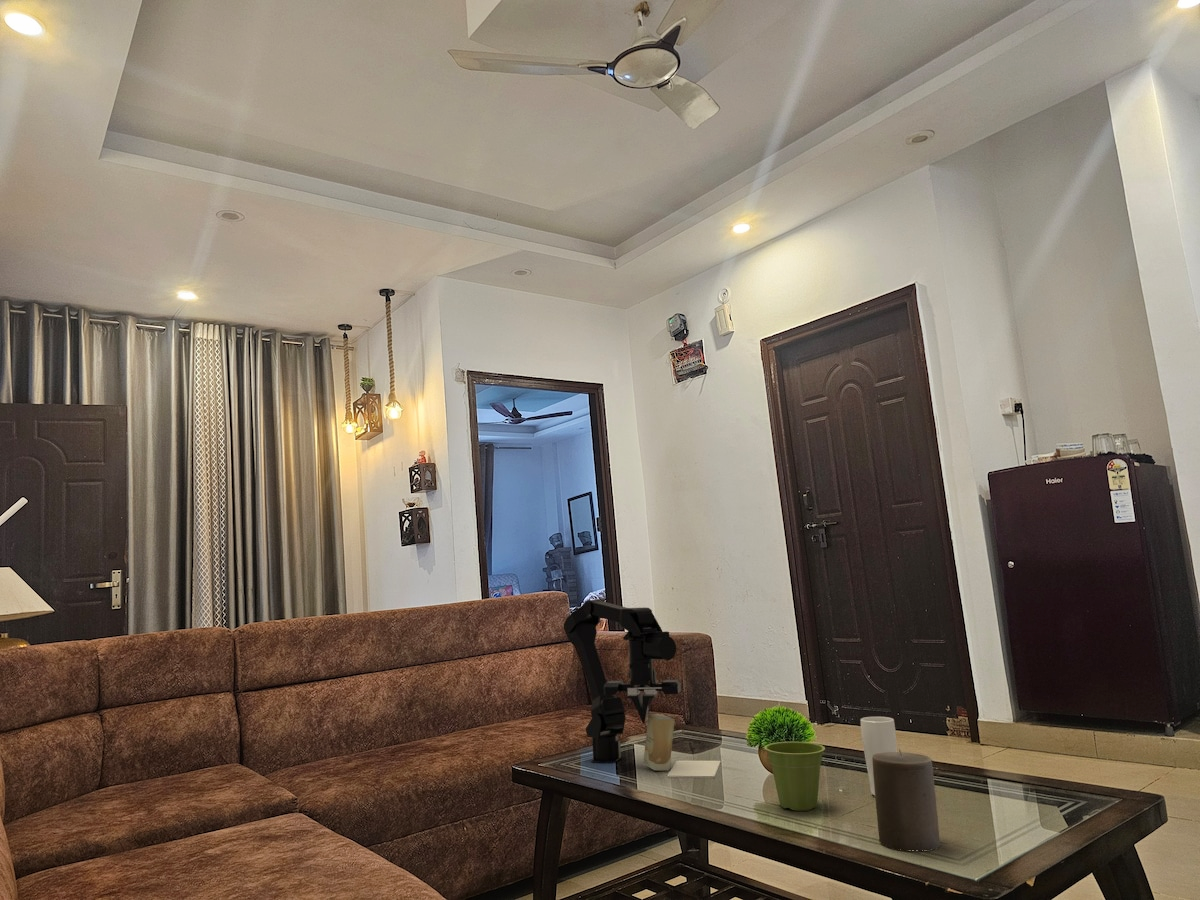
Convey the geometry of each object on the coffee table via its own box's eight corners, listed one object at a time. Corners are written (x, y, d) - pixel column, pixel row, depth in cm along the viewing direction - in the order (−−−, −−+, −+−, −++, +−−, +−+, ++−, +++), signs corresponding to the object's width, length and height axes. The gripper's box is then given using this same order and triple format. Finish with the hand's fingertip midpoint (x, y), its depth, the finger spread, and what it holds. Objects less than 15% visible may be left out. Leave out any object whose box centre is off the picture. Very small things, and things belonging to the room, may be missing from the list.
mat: (667, 777, 186) (667, 775, 186) (677, 762, 201) (677, 760, 201) (714, 777, 183) (714, 775, 184) (720, 762, 199) (720, 760, 199)
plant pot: (792, 818, 150) (786, 755, 151) (757, 804, 160) (752, 745, 162) (843, 809, 154) (837, 748, 156) (806, 795, 165) (801, 738, 167)
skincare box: (642, 764, 197) (647, 713, 199) (657, 764, 198) (662, 713, 200) (655, 771, 191) (659, 718, 193) (670, 771, 193) (675, 718, 195)
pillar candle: (884, 852, 129) (875, 755, 132) (874, 833, 139) (867, 743, 141) (947, 853, 127) (937, 755, 130) (933, 834, 137) (924, 743, 139)
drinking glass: (886, 789, 166) (878, 715, 169) (909, 797, 160) (901, 719, 163) (860, 794, 164) (852, 718, 166) (883, 801, 158) (875, 723, 160)
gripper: (682, 654, 205) (685, 717, 203) (612, 656, 210) (614, 718, 207) (675, 659, 195) (679, 725, 192) (601, 660, 199) (604, 725, 196)
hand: (644, 723), depth 197 cm, fingers closed
